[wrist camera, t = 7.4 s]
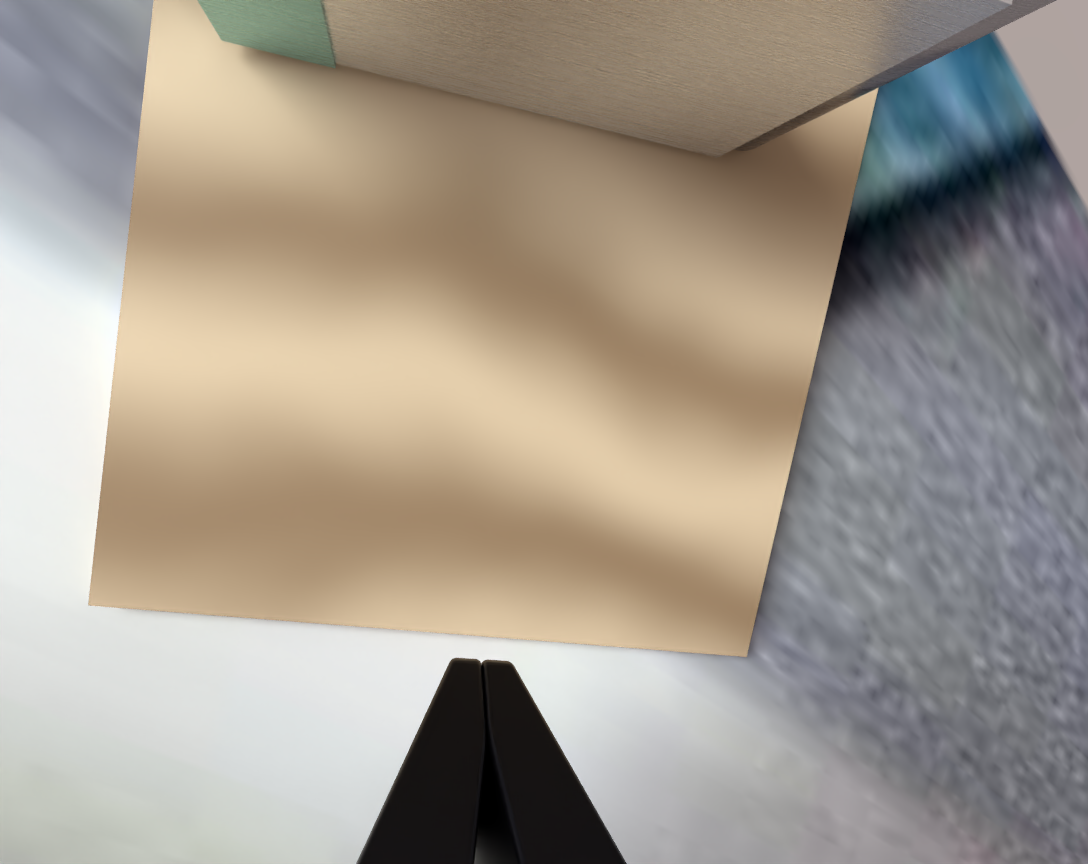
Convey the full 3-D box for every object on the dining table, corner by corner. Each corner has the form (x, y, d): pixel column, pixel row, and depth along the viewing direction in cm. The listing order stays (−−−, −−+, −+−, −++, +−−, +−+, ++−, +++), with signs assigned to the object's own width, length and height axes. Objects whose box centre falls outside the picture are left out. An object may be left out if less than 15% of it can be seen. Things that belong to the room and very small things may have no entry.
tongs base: (733, 644, 21) (1005, 901, 12) (61, 589, 17) (-373, 934, 7) (868, 56, 19) (1331, -207, 10) (142, -190, 15) (-320, -1132, 5)
